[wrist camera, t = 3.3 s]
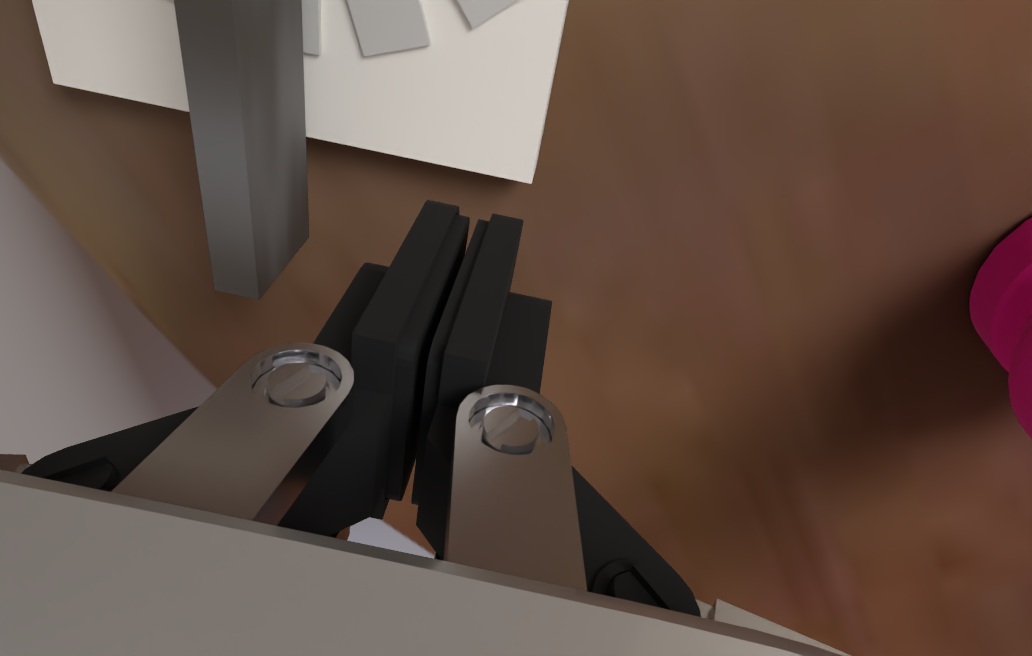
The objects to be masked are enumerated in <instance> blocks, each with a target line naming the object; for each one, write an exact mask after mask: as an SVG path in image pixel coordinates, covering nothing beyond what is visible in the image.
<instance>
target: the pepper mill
mask: <svg viewBox="0 0 1032 656" xmlns="http://www.w3.org/2000/svg"><path fill="white" fill-rule="evenodd" d="M969 305H970V316H971V320H972V323H973V325H974V328H975V330H976V332H977V333H978V334H979V336H980V337H981V339H982V340H983V341H984V343H985V344H986V345H987V347H988V348H989V349H990V351H991V352H992V353H993V355H994V356H995V357H996V359H997V360H998V361H999V363H1000V364H1001V365H1002V366H1003V368H1004V369H1005V370H1006V371H1008V372H1009V376H1008V388H1009V395H1010V402H1011V406H1012V408H1013V410H1014V412H1015V415H1016V417H1017V419H1018V421H1019V423H1020V425H1021V426H1022V427H1023V428H1024V430H1025V431H1026V432H1027V434H1028V435H1029V436H1030V437H1031V438H1032V218H1030V219H1028V220H1026V221H1025V222H1024V223H1022V224H1021V225H1020V226H1019V227H1018V228H1017V229H1015V230H1014V231H1013V232H1012V233H1011V234H1010V235H1008V236H1007V237H1006V238H1005V239H1004V240H1002V241H1001V242H1000V243H999V244H998V245H997V246H996V247H995V248H994V250H993V251H992V252H991V254H990V255H989V257H988V258H987V259H986V261H985V262H984V264H983V265H982V266H981V268H980V269H979V271H978V274H977V277H976V279H975V282H974V284H973V287H972V290H971V294H970V301H969Z"/></svg>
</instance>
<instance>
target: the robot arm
mask: <svg viewBox="0 0 1032 656" xmlns="http://www.w3.org/2000/svg"><path fill="white" fill-rule="evenodd" d="M469 220H470V219H469V217H466V216H461V215H459V207H458V206H454V205H449V204H444V203H440V202H435V201H430V200H427V201H426V202H425V204H424V206H423V208H422V209H421V211H420V213H419V215H418V217H417V218H416V220H415V222H414V224H413V226H412V227H411V229H410V231H409V233H408V235H407V236H406V238H405V240H404V242H403V243H402V245H401V247H400V249H399V251H398V252H397V254H396V256H395V258H394V260H393V261H392V263H391V265H390V267H387V266H382V265H377V264H372V263H364V265H363V266H362V267H361V268H360V270H359V272H358V273H357V275H356V276H355V278H354V279H353V281H352V283H351V284H350V286H349V287H348V289H347V291H346V292H345V294H344V295H343V297H342V299H341V300H340V302H339V303H338V305H337V306H336V308H335V310H334V311H333V313H332V314H331V316H330V318H329V319H328V321H327V322H326V324H325V326H324V327H323V329H322V330H321V332H320V333H319V335H318V337H317V338H316V340H315V341H314V343H313V344H312V343H287V344H281V345H276V346H273V347H270V348H268V349H265V350H263V351H260V352H258V353H257V354H255V355H254V356H253V357H251V358H250V359H248V360H247V361H246V362H245V363H244V364H243V365H242V366H241V367H240V368H239V369H238V370H237V371H236V372H235V373H234V374H232V375H231V376H230V377H229V378H228V379H227V380H226V381H225V382H224V383H223V384H222V385H221V386H220V387H219V388H218V389H217V390H216V391H215V392H214V393H213V394H212V395H211V396H210V397H209V398H208V399H207V400H206V401H205V402H203V404H201V405H200V406H199V407H196V408H192V409H189V410H186V411H183V412H179V413H176V414H173V415H170V416H166V417H163V418H160V419H157V420H154V421H150V422H148V423H144V424H141V425H138V426H134V427H132V428H128V429H125V430H122V431H119V432H115V433H112V434H109V435H105V436H102V437H99V438H96V439H93V440H90V441H86V442H83V443H80V444H77V445H74V446H70V447H67V448H64V449H62V450H59V451H57V452H54V453H52V454H50V455H47V456H45V457H43V458H41V459H40V460H38V461H37V462H35V463H34V464H29V462H28V460H27V457H26V455H12V454H0V656H851V655H848V654H846V653H844V652H841V651H839V650H837V649H834V648H832V647H829V646H827V645H825V644H822V643H820V642H818V641H815V640H813V639H811V638H808V637H806V636H804V635H801V634H799V633H796V632H794V631H792V630H789V629H787V628H785V627H782V626H780V625H778V624H775V623H773V622H771V621H768V620H766V619H764V618H761V617H759V616H756V615H754V614H752V613H749V612H747V611H745V610H742V609H740V608H738V607H735V606H733V605H731V604H728V603H726V602H724V601H721V600H719V599H717V600H716V601H715V603H714V604H713V606H710V605H708V604H706V603H703V602H701V601H699V600H696V599H695V597H694V595H693V592H692V591H691V590H690V588H689V587H688V586H687V584H686V583H685V582H684V581H683V579H682V578H681V577H680V575H679V574H678V573H677V572H676V571H675V570H674V569H673V568H672V567H671V566H670V565H669V564H668V563H667V562H666V561H665V560H664V559H663V558H662V557H661V556H660V555H659V554H658V553H657V552H656V551H655V550H654V549H653V548H652V547H651V546H650V545H649V544H648V543H647V542H646V541H645V540H644V539H643V538H642V537H641V536H640V535H639V534H638V533H637V532H636V531H635V530H634V529H633V528H632V527H631V526H630V525H629V524H628V522H627V521H626V520H625V519H624V518H623V517H622V516H621V515H620V514H619V513H618V512H617V511H616V510H615V509H614V508H613V507H612V506H611V505H610V504H609V503H608V502H607V501H606V500H605V499H604V498H603V497H602V496H601V495H600V494H599V493H598V492H597V491H596V490H595V489H594V488H593V487H592V486H591V485H590V484H589V483H588V482H587V481H586V480H585V479H584V478H583V477H582V476H581V475H580V474H579V473H578V472H577V471H576V470H575V469H574V468H573V466H572V465H571V458H570V451H569V443H568V435H567V427H566V424H565V421H564V418H563V415H562V414H561V413H560V411H559V410H558V409H557V407H556V406H555V405H554V404H553V403H552V402H550V401H549V400H548V399H546V398H545V397H544V396H543V395H541V394H540V387H541V379H542V372H543V365H544V357H545V350H546V343H547V335H548V328H549V321H550V313H551V306H552V301H550V300H545V299H540V298H535V297H531V296H526V295H521V294H516V293H511V292H510V288H511V283H512V278H513V273H514V267H515V262H516V257H517V252H518V247H519V242H520V237H521V231H522V226H523V220H521V219H516V218H511V217H507V216H502V215H497V214H492V216H491V219H490V221H485V220H480V219H479V220H478V222H477V225H476V227H475V230H474V233H473V235H472V238H471V241H470V243H469V246H468V249H467V251H466V244H467V237H468V230H469ZM465 251H466V254H465ZM415 460H416V465H415V474H414V483H413V492H412V504H416V505H418V513H417V521H416V525H417V527H418V528H419V529H420V531H421V532H422V533H423V535H424V536H425V538H426V539H427V540H428V542H429V543H430V545H431V546H432V547H433V549H434V550H435V556H434V559H432V558H428V557H422V556H418V555H413V554H408V553H403V552H399V551H394V550H389V549H384V548H380V547H375V546H370V545H365V544H360V543H356V542H351V541H347V539H348V537H349V533H350V526H352V525H354V524H356V523H358V522H360V521H362V520H364V519H367V518H369V517H371V518H376V519H381V520H382V519H383V516H384V513H385V510H386V507H387V505H388V502H389V499H392V500H397V501H401V500H402V498H403V496H404V493H405V490H406V487H407V484H408V481H409V478H410V475H411V472H412V469H413V466H414V463H415Z"/></svg>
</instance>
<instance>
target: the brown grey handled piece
mask: <svg viewBox="0 0 1032 656" xmlns="http://www.w3.org/2000/svg"><path fill="white" fill-rule="evenodd" d="M174 5H175V12H176V20H177V27H178V34H179V41H180V48H181V55H182V62H183V69H184V76H185V83H186V90H187V98H188V105H189V112H190V119H191V126H192V133H193V140H194V147H195V154H196V161H197V169H198V176H199V183H200V190H201V197H202V204H203V211H204V218H205V225H206V232H207V239H208V247H209V254H210V261H211V268H212V275H213V282H214V289H215V291H219V292H224V293H229V294H234V295H238V296H243V297H248V298H253V299H257V300H259V299H260V298H261V297H262V295H263V294H264V293H265V292H266V290H267V289H268V288H269V287H270V285H271V284H272V283H273V282H274V280H275V279H276V278H277V277H278V275H279V274H280V273H281V272H282V270H283V269H284V268H285V267H286V265H287V264H288V263H289V262H290V260H291V259H292V258H293V257H294V255H295V254H296V253H297V252H298V250H299V249H300V248H301V247H302V245H303V244H304V243H305V242H306V240H307V239H308V238H309V217H308V186H307V154H306V123H305V92H304V61H303V29H302V0H174Z"/></svg>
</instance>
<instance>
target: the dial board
mask: <svg viewBox="0 0 1032 656" xmlns="http://www.w3.org/2000/svg"><path fill="white" fill-rule="evenodd" d="M568 2H569V0H302V29H303V61H304V92H305V123H306V137H311V138H316V139H320V140H325V141H330V142H335V143H339V144H344V145H349V146H354V147H358V148H363V149H368V150H373V151H377V152H382V153H387V154H392V155H396V156H401V157H406V158H411V159H415V160H420V161H425V162H430V163H435V164H439V165H444V166H449V167H454V168H458V169H463V170H468V171H473V172H477V173H482V174H487V175H492V176H496V177H501V178H506V179H511V180H515V181H520V182H525V183H530V184H532V180H533V176H534V173H535V169H536V165H537V160H538V155H539V150H540V145H541V140H542V135H543V129H544V124H545V119H546V114H547V109H548V104H549V99H550V94H551V89H552V83H553V78H554V73H555V68H556V63H557V58H558V53H559V48H560V43H561V37H562V32H563V27H564V22H565V17H566V12H567V7H568ZM32 3H33V7H34V10H35V14H36V18H37V22H38V26H39V30H40V33H41V37H42V41H43V45H44V49H45V52H46V56H47V60H48V64H49V68H50V72H51V75H52V79H53V83H54V84H59V85H64V86H69V87H73V88H78V89H83V90H88V91H92V92H97V93H102V94H107V95H111V96H116V97H121V98H126V99H130V100H135V101H140V102H145V103H149V104H154V105H159V106H164V107H168V108H173V109H178V110H183V111H187V112H189V105H188V98H187V90H186V83H185V76H184V69H183V62H182V55H181V48H180V41H179V34H178V27H177V20H176V12H175V5H174V0H32Z"/></svg>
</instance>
